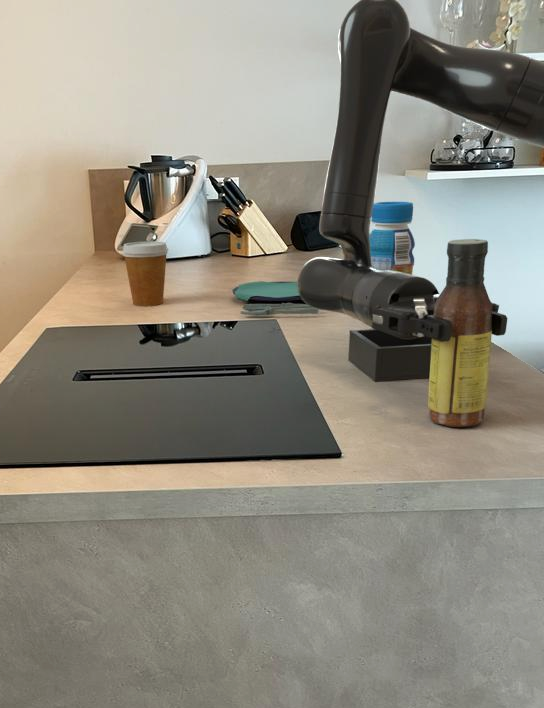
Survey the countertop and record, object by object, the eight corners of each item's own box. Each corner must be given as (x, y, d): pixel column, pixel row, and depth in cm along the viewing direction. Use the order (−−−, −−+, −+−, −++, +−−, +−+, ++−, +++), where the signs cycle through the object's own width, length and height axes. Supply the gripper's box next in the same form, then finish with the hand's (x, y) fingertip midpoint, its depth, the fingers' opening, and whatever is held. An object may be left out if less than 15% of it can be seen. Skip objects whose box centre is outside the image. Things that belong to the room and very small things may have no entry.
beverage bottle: (357, 325, 137) (364, 205, 129) (363, 316, 144) (370, 201, 137) (407, 327, 134) (417, 204, 127) (411, 317, 142) (420, 200, 134)
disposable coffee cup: (152, 297, 170) (149, 240, 166) (180, 302, 164) (177, 242, 159) (116, 303, 165) (112, 244, 160) (143, 309, 158) (140, 247, 153)
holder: (417, 356, 117) (419, 325, 115) (450, 376, 106) (453, 343, 105) (348, 360, 116) (349, 330, 114) (374, 381, 105) (376, 348, 104)
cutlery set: (327, 289, 171) (328, 279, 170) (328, 318, 144) (329, 305, 143) (236, 290, 174) (236, 280, 173) (221, 318, 147) (221, 306, 146)
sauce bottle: (488, 416, 91) (511, 238, 83) (476, 432, 86) (500, 244, 78) (431, 408, 94) (448, 236, 86) (417, 424, 89) (433, 242, 81)
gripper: (343, 276, 95) (419, 299, 80) (447, 267, 99) (538, 287, 84) (340, 338, 98) (413, 370, 83) (441, 327, 102) (529, 356, 87)
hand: (476, 329), depth 84 cm, fingers closed on sauce bottle, 6 cm apart
